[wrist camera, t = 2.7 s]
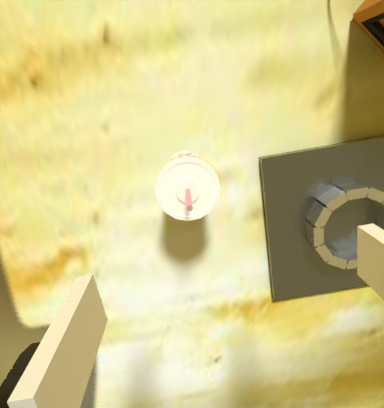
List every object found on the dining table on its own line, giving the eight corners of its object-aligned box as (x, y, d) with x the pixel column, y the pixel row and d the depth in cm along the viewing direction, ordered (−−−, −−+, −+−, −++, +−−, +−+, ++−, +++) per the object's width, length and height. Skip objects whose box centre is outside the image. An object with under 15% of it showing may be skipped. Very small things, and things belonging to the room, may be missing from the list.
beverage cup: (186, 203, 38) (190, 258, 25) (149, 170, 37) (133, 209, 24) (221, 168, 37) (245, 206, 24) (184, 133, 36) (188, 152, 22)
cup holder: (259, 157, 37) (267, 162, 34) (424, 128, 37) (449, 131, 33) (272, 296, 43) (280, 312, 40) (413, 272, 43) (432, 287, 40)
